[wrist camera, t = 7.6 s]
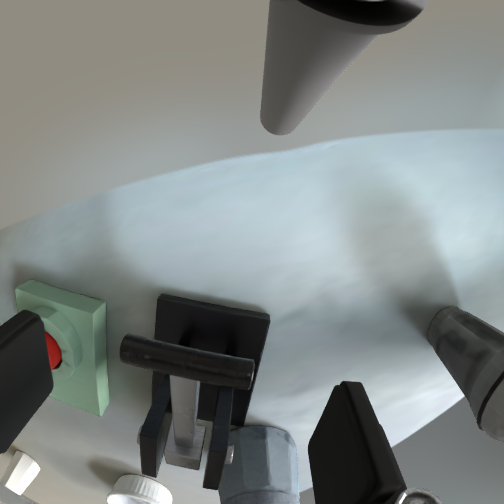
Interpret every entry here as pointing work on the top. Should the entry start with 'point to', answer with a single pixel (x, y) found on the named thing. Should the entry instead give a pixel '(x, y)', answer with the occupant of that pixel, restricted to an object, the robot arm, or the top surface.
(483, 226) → the top surface
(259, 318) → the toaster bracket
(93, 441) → the top surface
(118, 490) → the ramekin
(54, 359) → the stop button
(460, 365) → the beverage cup
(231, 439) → the moka pot
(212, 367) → the lever
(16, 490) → the pepper shaker
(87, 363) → the control block
